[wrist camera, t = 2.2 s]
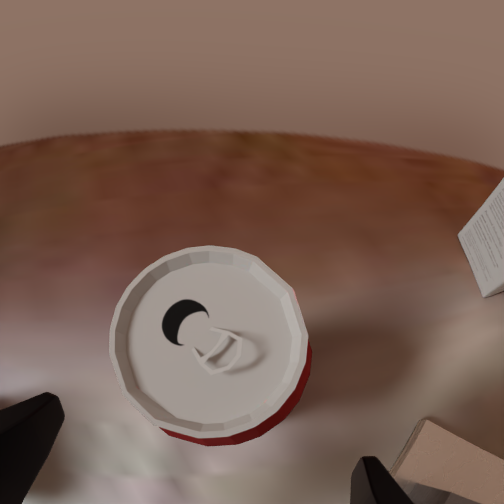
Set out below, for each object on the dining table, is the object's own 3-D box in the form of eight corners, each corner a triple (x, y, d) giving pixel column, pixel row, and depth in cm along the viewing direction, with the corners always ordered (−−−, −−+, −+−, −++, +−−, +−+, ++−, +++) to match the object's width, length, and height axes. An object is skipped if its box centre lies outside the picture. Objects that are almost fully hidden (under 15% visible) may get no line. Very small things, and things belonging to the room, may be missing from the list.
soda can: (301, 377, 18) (366, 311, 7) (243, 449, 16) (219, 500, 5) (228, 323, 19) (194, 197, 9) (169, 389, 17) (56, 339, 7)
